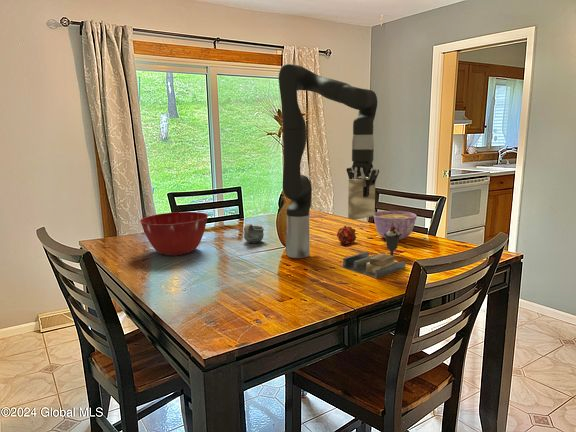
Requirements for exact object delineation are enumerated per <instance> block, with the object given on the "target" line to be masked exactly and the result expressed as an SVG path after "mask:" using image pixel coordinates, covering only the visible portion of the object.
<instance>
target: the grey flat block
mask: <svg viewBox="0 0 576 432" xmlns="http://www.w3.org/2000/svg"><path fill="white" fill-rule="evenodd" d="M397 263H399V261H398V260H396V259H394V261H393V262H391V263H389V264H387V265H385V266H383V267H381V266H377V265H372V264H370V262H368V263H366V271H367V272H370V273H373V274H375V271H376V270H379V269H382V268H385V267H388V266H391V265H394V264H397Z"/></svg>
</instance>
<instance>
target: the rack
mask: <svg viewBox="0 0 576 432" xmlns="http://www.w3.org/2000/svg"><path fill="white" fill-rule="evenodd" d="M376 255H379V254H374V255H371V256H370V252H369V251H363V252H360V253H357V254H356V253H355V254H353V255H349V256H346V257H342V262H343V263H342V265H341V266H339V267H340V268H343V269H346V270H349V271H352V272H355V273H358V274H362V275H365V276H368V277H372V278H374V279H379V278H381V277H384V276H387V275H390V274H392V273H396V272H399V271H401V270H404V269H406V260H405V261H404V260H402V261H400V262H398V263H397V264H394V265H391V266H388V267H385V268H382V269H379V270H376V271H375V274H373V273H370V272H367V271H366V263H368V262H370V258H372V257H374V256H376Z"/></svg>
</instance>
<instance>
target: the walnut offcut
mask: <svg viewBox="0 0 576 432" xmlns="http://www.w3.org/2000/svg"><path fill="white" fill-rule="evenodd" d="M375 255H376V254H375ZM394 260H395V255H394V256H392V255H390V254H386V253H379V254H378V255H376V256H374V257H372V258H370V264H372V265H377V266H381V267H383V266H385V265H387V264H389V263H391V262H393V261H394Z"/></svg>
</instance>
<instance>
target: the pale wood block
mask: <svg viewBox="0 0 576 432" xmlns="http://www.w3.org/2000/svg"><path fill="white" fill-rule="evenodd" d="M366 181H367V180H366ZM363 187H364V185H363V180H362V178H359V179H350V180H349V179H348V189H347V190H348V197H347V199H348V202H347V208H348V209H347V210H348V211H347V215H348V216H347V218H348V219H347V220H353V221H356V220H360V219H366V218H370V217H373V216H375V213H376V209H375V208H376V183H375V184H374V185H371V186H370V187H369V196H368V197H363Z"/></svg>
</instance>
